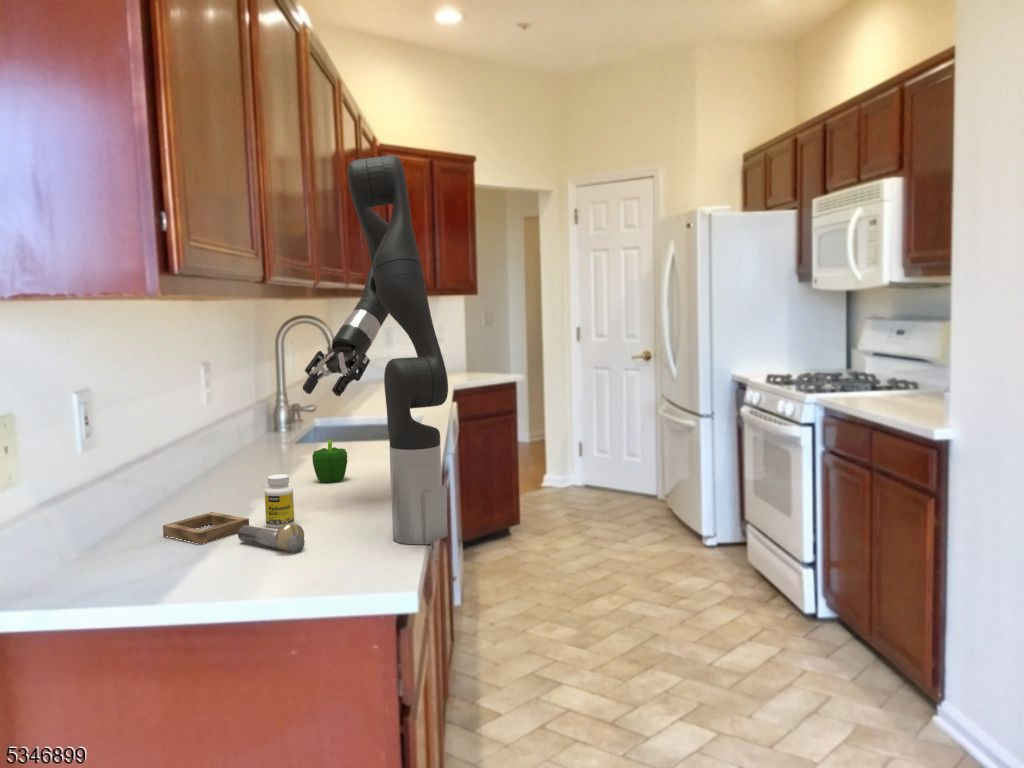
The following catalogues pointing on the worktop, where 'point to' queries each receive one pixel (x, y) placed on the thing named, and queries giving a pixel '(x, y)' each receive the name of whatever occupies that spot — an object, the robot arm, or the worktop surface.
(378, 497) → the worktop surface
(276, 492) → the supplement bottle
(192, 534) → the collar block
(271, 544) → the shaft
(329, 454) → the bell pepper
